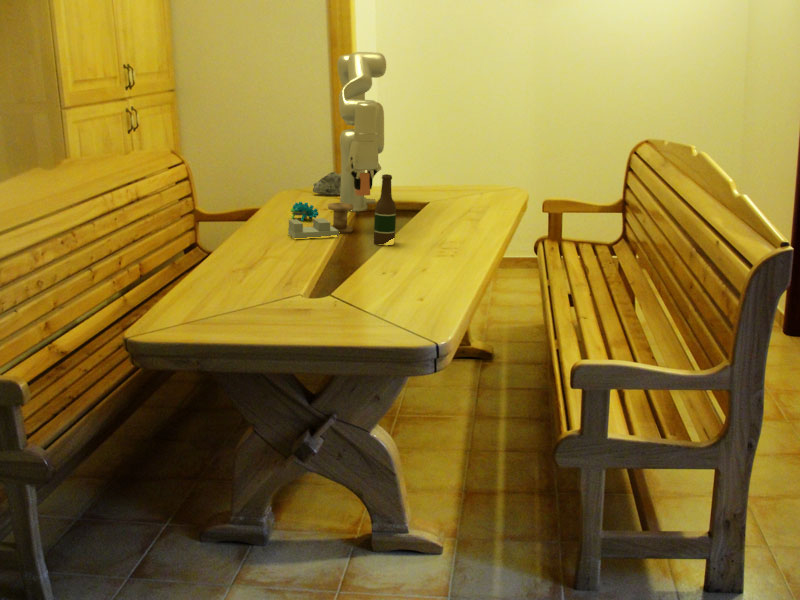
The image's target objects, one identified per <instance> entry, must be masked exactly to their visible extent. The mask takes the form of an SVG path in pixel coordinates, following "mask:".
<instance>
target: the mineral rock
mask: <svg viewBox="0 0 800 600" xmlns="http://www.w3.org/2000/svg"><path fill="white" fill-rule="evenodd" d="M312 186H313V188H312V192H313V193H315V194H320V195H324V196H332V195H335V196H337V195H338V196H340V193H341V173H337V172H336V171H332V172H329V173H328V174H327V175H325V176H323V177H322V178H320V179H319V180H318V181H317V182H315V183H313V185H312Z"/></svg>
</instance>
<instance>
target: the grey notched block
mask: <svg viewBox="0 0 800 600" xmlns="http://www.w3.org/2000/svg"><path fill="white" fill-rule="evenodd" d="M312 219H313V224H312V225H313V226H304V224H303V223H302V222H301V221H300V220H299V219H297V218H296V219H295V218H294V219H293V220H292V219H288V228H287V231H288V232H287V233H288V234H289V235H290V236H292V237H293V238H307V237H321V236H331V235H337V236H338V238H339V235H340V234H339V231H338V230H337V229H335V228H334V227H333V226H330V225H331V221H329V220H327V219H326V218H324V217H321V218H320V217H319V218H317V217H316V218H312ZM288 234H287V235H288ZM289 235H288V236H289ZM290 236H289V237H290ZM292 237H291V238H292ZM293 238H292V239H293Z"/></svg>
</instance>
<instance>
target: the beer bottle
mask: <svg viewBox="0 0 800 600" xmlns="http://www.w3.org/2000/svg"><path fill="white" fill-rule="evenodd" d="M381 179H382V181H381V189H380V197H379V198H378V200H377V201H376V203H375V210H374V219H373V221H374V222H373V224H374V225H373V244H374V243H375V244H374V245H376V244H384V243H386V242H388V241H389V240H391V239H393V238H395V239H396V223H397V221H396V220H397V206H396V203H395V201H394V199H393V195H392V179H393V175H391V174H382V175H381Z"/></svg>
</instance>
